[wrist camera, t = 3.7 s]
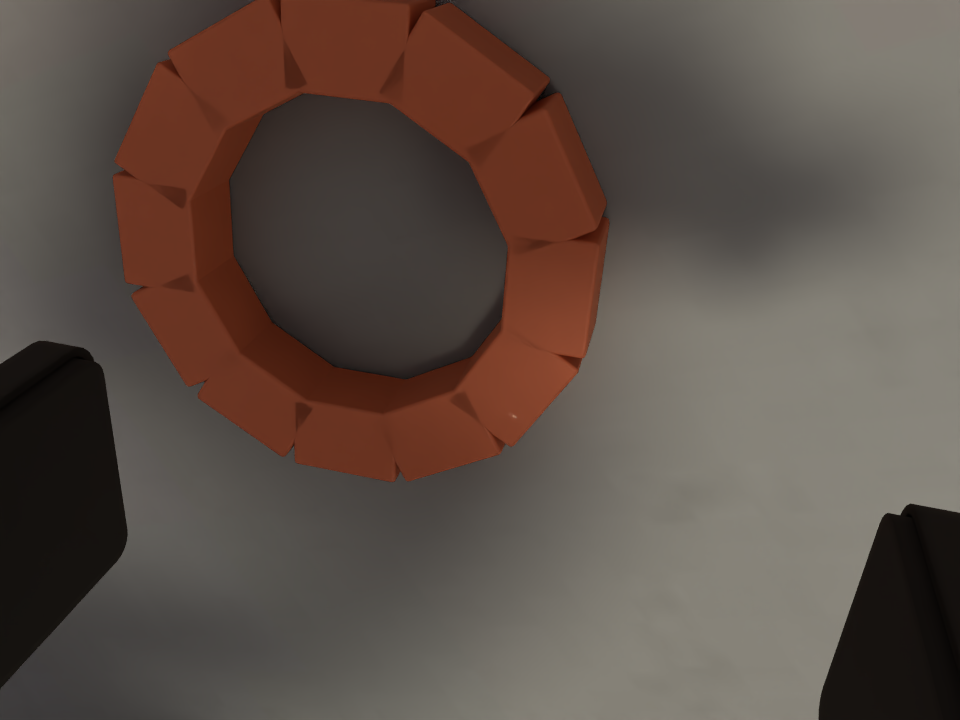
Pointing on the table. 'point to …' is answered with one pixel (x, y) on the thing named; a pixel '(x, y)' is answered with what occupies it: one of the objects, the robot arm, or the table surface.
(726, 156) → the table surface
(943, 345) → the table surface
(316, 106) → the table surface
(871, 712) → the robot arm
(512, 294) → the ring
